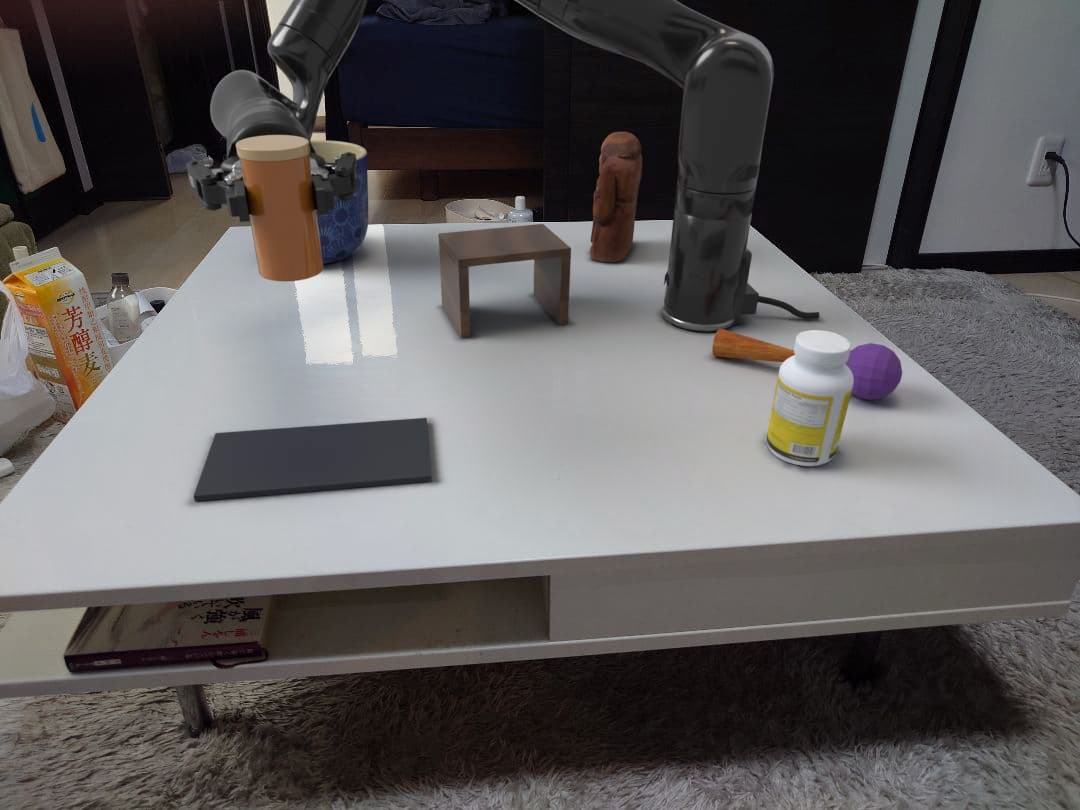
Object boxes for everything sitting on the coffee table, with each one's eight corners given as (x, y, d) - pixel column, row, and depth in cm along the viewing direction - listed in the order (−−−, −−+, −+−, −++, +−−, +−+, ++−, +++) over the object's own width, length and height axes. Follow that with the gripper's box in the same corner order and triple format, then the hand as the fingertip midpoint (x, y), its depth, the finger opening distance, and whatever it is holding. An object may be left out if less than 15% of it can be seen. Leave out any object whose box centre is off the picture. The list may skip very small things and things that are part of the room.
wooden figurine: (599, 238, 127) (606, 124, 118) (637, 242, 126) (647, 127, 117) (584, 262, 117) (590, 139, 108) (625, 266, 116) (635, 143, 107)
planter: (290, 283, 108) (272, 173, 100) (244, 250, 119) (225, 149, 111) (396, 258, 117) (388, 156, 109) (344, 230, 128) (334, 135, 121)
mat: (426, 422, 77) (426, 417, 77) (431, 481, 69) (431, 475, 68) (216, 438, 74) (215, 432, 74) (194, 501, 66) (193, 495, 65)
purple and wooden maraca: (730, 313, 92) (911, 344, 82) (723, 361, 94) (899, 397, 84) (711, 321, 87) (901, 355, 77) (705, 372, 89) (889, 411, 79)
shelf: (541, 294, 106) (543, 223, 101) (568, 323, 98) (571, 247, 93) (441, 307, 102) (438, 233, 97) (461, 338, 94) (458, 259, 89)
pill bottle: (821, 431, 77) (846, 325, 71) (845, 469, 71) (875, 357, 65) (756, 432, 77) (776, 325, 71) (775, 469, 71) (799, 357, 65)
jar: (327, 257, 65) (311, 134, 60) (322, 280, 61) (305, 149, 55) (262, 259, 64) (241, 135, 59) (253, 283, 60) (229, 150, 55)
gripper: (177, 113, 67) (166, 159, 53) (346, 107, 71) (376, 148, 57) (195, 200, 71) (189, 263, 57) (354, 189, 75) (384, 246, 61)
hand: (283, 205), depth 57 cm, fingers closed on jar, 5 cm apart
